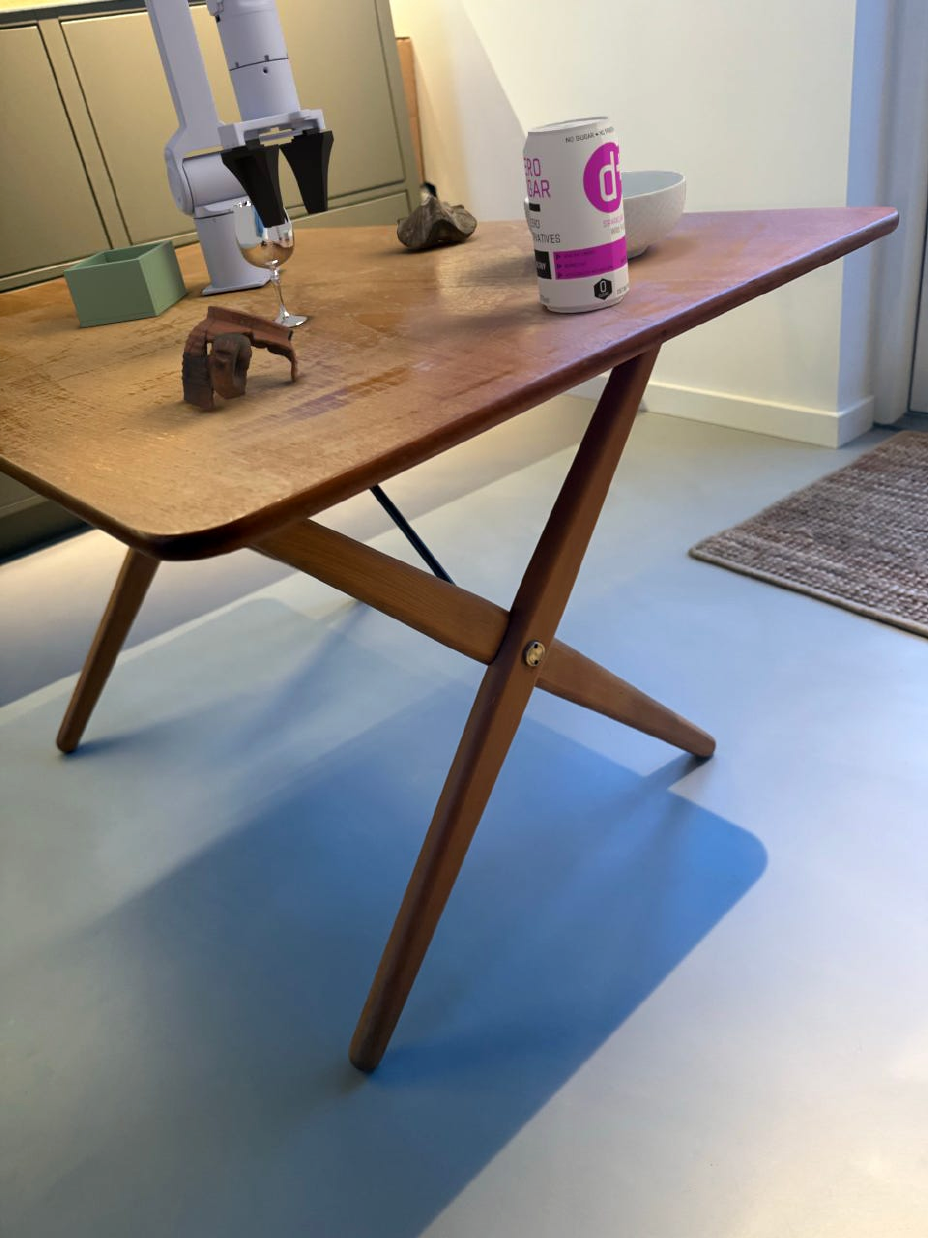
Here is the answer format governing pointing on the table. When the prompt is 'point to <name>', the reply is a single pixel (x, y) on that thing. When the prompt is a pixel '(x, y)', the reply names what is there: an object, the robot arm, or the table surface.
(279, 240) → the wineglass
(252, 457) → the table surface
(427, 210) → the fossilized seashell
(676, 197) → the cereal bowl
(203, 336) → the reddish-brown arched part
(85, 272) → the bin
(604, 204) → the supplement can
